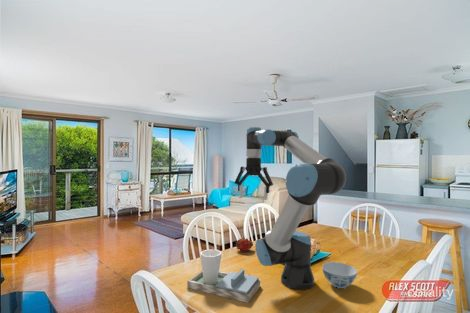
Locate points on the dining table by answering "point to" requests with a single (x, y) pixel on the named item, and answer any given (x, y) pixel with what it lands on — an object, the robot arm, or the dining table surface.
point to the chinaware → (339, 274)
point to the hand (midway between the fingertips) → (253, 198)
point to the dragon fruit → (244, 244)
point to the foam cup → (210, 265)
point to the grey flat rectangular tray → (199, 284)
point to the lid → (237, 282)
